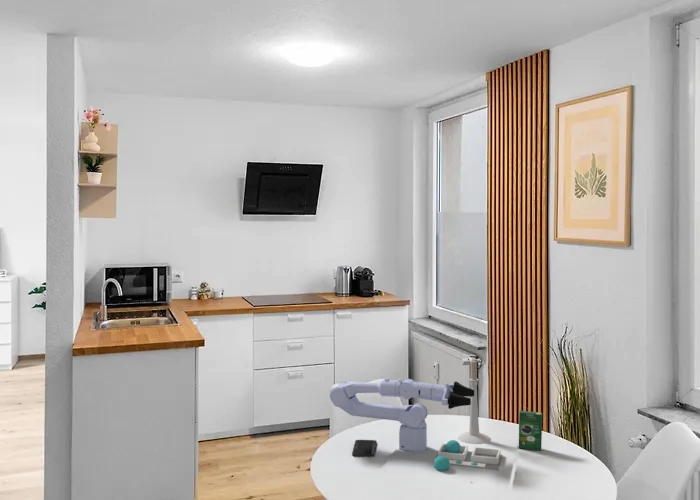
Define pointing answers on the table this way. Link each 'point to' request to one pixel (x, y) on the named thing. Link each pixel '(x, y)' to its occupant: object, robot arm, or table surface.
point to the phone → (364, 448)
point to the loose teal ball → (441, 463)
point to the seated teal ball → (453, 447)
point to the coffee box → (530, 430)
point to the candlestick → (474, 415)
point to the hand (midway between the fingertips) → (472, 397)
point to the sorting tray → (473, 457)
